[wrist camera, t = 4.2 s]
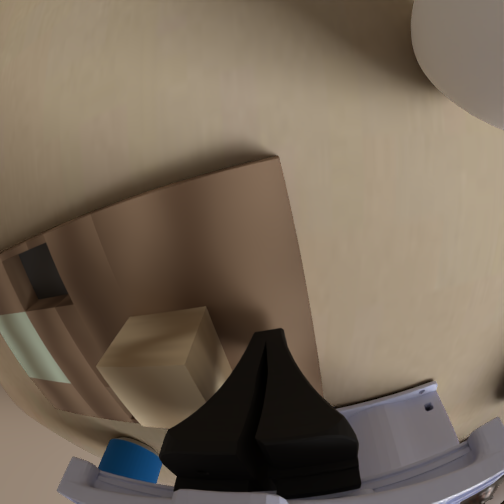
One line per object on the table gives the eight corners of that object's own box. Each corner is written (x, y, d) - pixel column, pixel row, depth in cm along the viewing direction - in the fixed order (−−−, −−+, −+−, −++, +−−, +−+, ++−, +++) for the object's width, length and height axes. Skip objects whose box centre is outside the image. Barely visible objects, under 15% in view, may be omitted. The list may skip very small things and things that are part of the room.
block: (206, 306, 13) (184, 364, 9) (232, 371, 15) (222, 429, 11) (129, 316, 14) (95, 366, 10) (162, 375, 15) (142, 426, 12)
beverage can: (125, 454, 26) (98, 526, 15) (102, 428, 23) (66, 509, 12) (170, 464, 25) (149, 545, 14) (152, 440, 23) (122, 534, 12)
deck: (277, 155, 12) (279, 158, 10) (322, 393, 18) (325, 415, 16) (-16, 261, 16) (-30, 270, 14) (62, 396, 22) (55, 408, 20)
